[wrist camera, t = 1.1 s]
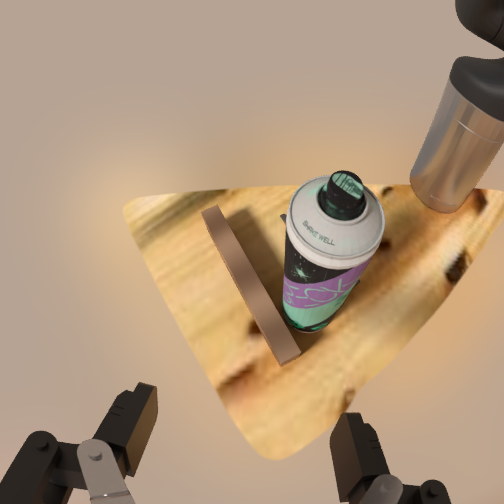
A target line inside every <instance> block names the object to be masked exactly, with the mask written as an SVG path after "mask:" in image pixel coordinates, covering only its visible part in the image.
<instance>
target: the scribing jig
mask: <svg viewBox="0 0 504 504" xmlns="http://www.w3.org/2000/svg"><path fill="white" fill-rule="evenodd" d="M201 214H202V216H203V219H204V222H205V224H206V227H207V229H208V232H209V234H210V236H211V237H212V239H213V241H214V243H215V245H216V247H217V249H218V251H219V253H220V255H221V257H222V259H223V261H224V263H225V265H226V267H227V269H228V270H229V272H230V274H231V276H232V278H233V280H234V282H235V284H236V286H237V288H238V290H239V291H240V293H241V295H242V297H243V299H244V301H245V303H246V305H247V306H248V308H249V310H250V312H251V314H252V316H253V318H254V320H255V321H256V323H257V325H258V327H259V329H260V331H261V332H262V334H263V336H264V338H265V340H266V342H267V343H268V345H269V347H270V349H271V351H272V353H273V354H274V356H275V358H276V360H277V362H278V363H279V365H280V367H282V366H284V365H285V364H287V363H289V362H291V361H293V360H295V359H297V358H298V357H299V355H300V354H301V351H300V349H299V348H298V346H297V344H296V342H295V341H294V339H293V337H292V335H291V334H290V332H289V330H288V328H287V327H286V325H285V323H284V321H283V320H282V318H281V316H280V314H279V313H278V311H277V309H276V307H275V306H274V304H273V302H272V300H271V299H270V297H269V295H268V293H267V292H266V290H265V288H264V286H263V285H262V283H261V281H260V279H259V278H258V276H257V274H256V272H255V271H254V269H253V267H252V265H251V264H250V262H249V260H248V258H247V256H246V255H245V253H244V251H243V249H242V248H241V246H240V244H239V242H238V241H237V239H236V237H235V235H234V233H233V232H232V230H231V228H230V226H229V225H228V223H227V221H226V219H225V218H224V216H223V214H222V212H221V210H220V209H219V207H218V205H215V206H213V207H211V208H209V209H207V210H205V211H203V212H201ZM280 217H281V218H282V219H283V221H284V222H285V225H286V216H285V215H284V214H282V215H280ZM359 282H360V281H359V279H358V281H357V282H356V284H358V283H359ZM356 284H355V285H356ZM355 285H354V286H355ZM343 304H344V303H343ZM343 304H342V305H343Z"/></svg>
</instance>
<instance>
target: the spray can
mask: <svg viewBox="0 0 504 504" xmlns="http://www.w3.org/2000/svg"><path fill="white" fill-rule="evenodd" d="M384 228H385V214H384V211H383V208H382V206H381V204H380V202H379V200H378V199H377V197H376V196H375V195H374V194H373V192H371V191H370V190H369V189H368V188H367V187H366V186H364V185H363V184H362V181H361V179H360V178H359V177H358V176H357V175H356V174H354V173H352V172H349V171H337V172H335V173H333V174H332V175H325V176H320V177H315V178H313V179H310V180H308V181H307V182H305V183H303V184H302V185H301V186H300V187H299V188H298V189H297V190H296V191H295V192H294V194H293V195H292V198H291V200H290V203H289V208H288V211H287V217H286V239H285V264H284V285H283V304H282V309H283V315H284V318H285V320H286V322H287V323H288V324H289V325H290V326H291V327H292V328H293V329H295V330H297V331H299V332H302V333H314V332H318V331H320V330H322V329H323V328H324V327H326V326H327V325H328V324H329V322H330V321H331V320H332V318H333V317H334V315H335V314H336V312H337V311H338V310H339V308H340V307H341V305H342V304H343V302H344V301H345V299H346V298H347V296H348V295H349V293H350V292H351V290H352V289H353V287H354V285H355V284H356V282H357V281H358V279H359V278H360V276H361V275H362V273H363V271H364V270H365V268H366V267H367V265H368V263H369V262H370V260H371V258H372V257H373V255H374V253H375V252H376V250H377V248H378V247H379V244H380V242H381V239H382V235H383V232H384Z"/></svg>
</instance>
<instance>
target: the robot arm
mask: <svg viewBox="0 0 504 504" xmlns="http://www.w3.org/2000/svg"><path fill="white" fill-rule="evenodd" d="M455 7H456V12H457V16H458V18H459V20H460V22H461V23H462V24H463V26H464V27H465V28H466V29H468V30H469V31H471V32H472V33H474V34H475V35H477V36H478V37H480V38H482V39H484V40H486V41H487V42H489V43H491V44H493V45H494V46H496V47H498V48H499V49H501V50H503V51H504V0H455ZM503 142H504V57H503V58H500V59H481V58H474V57H468V56H463V57H459V58H457V59H456V60H455V62H454V64H453V66H452V69H451V72H450V76H449V79H448V82H447V85H446V87H445V90H444V93H443V96H442V99H441V102H440V104H439V107H438V109H437V112H436V114H435V117H434V120H433V122H432V124H431V127H430V129H429V132H428V134H427V137H426V139H425V141H424V144H423V146H422V148H421V151H420V153H419V155H418V157H417V159H416V161H415V164H414V166H413V168H412V170H411V173H410V183H411V186H412V189H413V191H414V192H415V194H416V195H417V197H418V198H419V199H420V200H421V201H422V202H423V203H425V204H426V205H427V206H429V207H430V208H432V209H434V210H436V211H438V212H442V213H452V212H455V211H456V210H458V209H459V208H460V206H461V205H462V204H463V202H464V201H465V200H466V198H467V197H468V195H469V194H470V193H471V191H472V190H473V189H474V187H475V186H476V184H477V183H478V181H479V180H480V178H481V177H482V176H483V174H484V172H485V171H486V170H487V168H488V166H489V165H490V163H491V162H492V160H493V159H494V157H495V155H496V154H497V152H498V151H499V149H500V147H501V146H502V144H503ZM157 414H158V401H157V388H156V386H152V385H149V384H145V383H141V382H139V383H138V385H137V386H136V388H135V390H134V392H131V391H128V390H125V391H124V392H122V393H121V394H119V395H118V396H117V397H116V399H115V401H114V403H113V404H112V406H111V408H110V409H109V411H108V413H107V415H106V416H105V418H104V419H103V421H102V423H101V424H100V426H99V428H98V430H97V432H96V433H95V435H94V437H93V438H92V439H89V440H86V441H84V442H82V443H81V444H70V443H64V442H58V441H57V440H56V438H55V437H54V436H53V435H52V434H51V433H49V432H46V431H36V432H33V433H32V434H30V435H29V436H28V438H27V439H26V441H25V443H24V444H23V446H22V448H21V449H20V451H19V452H18V454H17V456H16V457H15V459H14V461H13V462H12V464H11V465H10V467H9V469H8V471H7V472H6V474H5V476H4V477H3V479H2V481H1V483H0V504H67V503H68V500H69V497H70V495H71V493H72V490H73V488H78V489H84V490H88V491H89V494H90V501H91V504H135V502H134V500H133V498H132V496H131V494H130V492H129V490H128V488H127V486H126V484H125V482H124V479H125V477H126V475H128V476H131V477H134V475H135V473H136V470H137V468H138V465H139V462H140V460H141V458H142V455H143V452H144V450H145V447H146V445H147V442H148V440H149V437H150V435H151V432H152V430H153V427H154V425H155V422H156V419H157ZM330 449H331V455H332V460H333V465H334V471H335V476H336V482H337V487H338V493H339V499H340V502H349V504H451V502H450V499H449V496H448V493H447V490H446V488H445V486H444V485H443V483H441V482H440V481H437V480H428V481H426V482H424V483H423V484H422V485H421V486H413V485H404V484H402V482H401V481H400V480H399V479H398V478H397V477H395V476H393V475H391V474H390V472H389V469H388V466H387V463H386V460H385V457H384V454H383V451H382V449H381V445H380V442H379V439H378V436H377V434H376V431H375V430H374V429H373V428H372V427H371V425H370V424H368V423H364V422H363V419H362V417H361V414H360V413H344V412H343V413H342V414H341V416H340V418H339V420H338V422H337V424H336V426H335V428H334V430H333V431H332V434H331V436H330Z"/></svg>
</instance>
